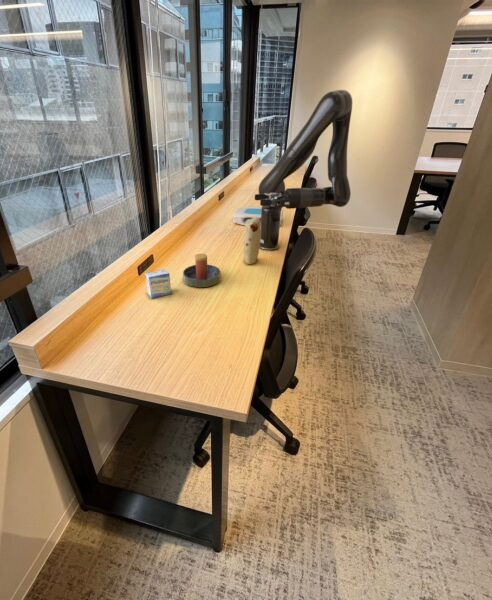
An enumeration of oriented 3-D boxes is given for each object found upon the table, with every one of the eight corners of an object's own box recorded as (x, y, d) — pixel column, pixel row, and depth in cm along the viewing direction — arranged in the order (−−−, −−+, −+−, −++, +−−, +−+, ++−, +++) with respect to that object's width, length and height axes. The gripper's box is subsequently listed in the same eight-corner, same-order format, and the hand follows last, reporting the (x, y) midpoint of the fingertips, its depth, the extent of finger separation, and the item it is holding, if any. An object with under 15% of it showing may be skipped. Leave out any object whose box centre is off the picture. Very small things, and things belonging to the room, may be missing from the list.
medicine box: (151, 299, 120) (148, 277, 115) (147, 293, 123) (144, 272, 119) (171, 294, 123) (169, 273, 118) (167, 289, 126) (165, 268, 122)
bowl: (182, 273, 138) (181, 265, 137) (217, 270, 141) (217, 263, 139) (184, 289, 126) (184, 281, 124) (223, 286, 128) (223, 278, 126)
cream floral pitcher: (254, 267, 144) (257, 222, 134) (240, 264, 146) (241, 220, 136) (261, 258, 151) (263, 215, 141) (247, 256, 154) (249, 214, 143)
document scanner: (280, 228, 190) (281, 217, 187) (232, 225, 195) (233, 214, 192) (282, 217, 208) (283, 207, 205) (239, 215, 213) (239, 205, 210)
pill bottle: (195, 276, 134) (194, 253, 129) (206, 275, 135) (206, 253, 130) (196, 281, 130) (195, 258, 125) (208, 280, 131) (207, 257, 126)
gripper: (292, 184, 131) (253, 185, 129) (306, 192, 119) (263, 194, 117) (290, 203, 135) (252, 205, 133) (303, 212, 123) (262, 214, 121)
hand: (257, 199), depth 125 cm, fingers open, 8 cm apart
